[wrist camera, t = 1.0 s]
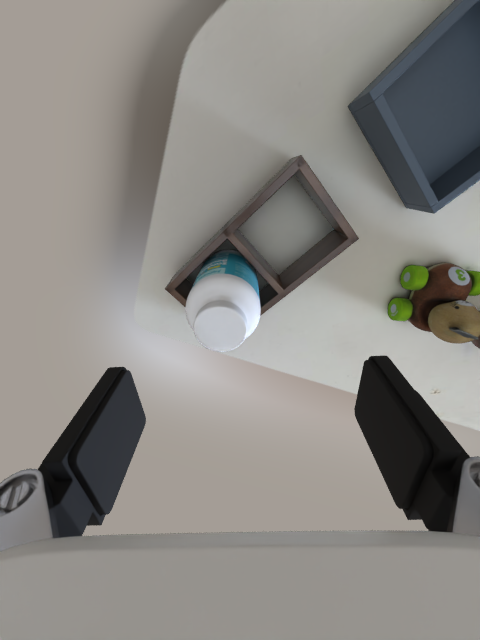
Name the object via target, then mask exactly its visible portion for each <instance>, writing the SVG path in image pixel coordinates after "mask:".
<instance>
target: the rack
mask: <svg viewBox="0 0 480 640" xmlns="http://www.w3.org/2000/svg"><path fill="white" fill-rule="evenodd" d="M293 175H295V176H296V178H297V179H298V181H299V182H300V183H301V185H302V186H303V187H304V189H305V190H306V192H307V193H308V194H309V196H310V197H311V199H312V200H313V201H314V203H315V204H316V205H317V207H318V208H319V210H320V211H321V212H322V214H323V215H324V217H325V218H326V219H327V221H328V222H329V223H330V225H331V226H332V228H333V229H334V230H333V231H332V232H331V233H329V234H328V235H327V236H326V237H325V238H323V239H322V240H321V241H320V242H318V243H317V244H316V245H315V246H314V247H312V248H311V249H310V250H309V251H308V252H306V253H305V254H304V255H303V256H301V257H300V258H299V259H298V260H297V261H295V262H294V263H293V264H292V265H291V266H289V267H288V268H287V269H286V270H284V271H283V272H282V273H281V274H280V275H278V274H277V273H276V271H275V270H274V269H273V268H272V267H271V266H270V265H269V264H268V262H267V261H266V260H265V259H264V258H263V257H262V256H261V255H260V253H259V252H258V251H257V250H256V249H255V248H254V247H253V245H252V244H251V243H250V242H249V241H248V240H247V239H246V238H245V236H244V235H243V234H242V233H241V232H240V231H239V230H238V228H239V227H240V226H241V225H242V224H243V223H244V222H245V221H246V220H247V219H248V218H249V217H250V216H251V215H252V214H253V213H254V212H255V211H256V210H258V209H259V208H260V207H261V206H262V205H263V204H264V203H265V202H266V201H267V200H268V199H269V198H270V197H271V196H272V195H273V194H274V193H275V192H276V191H277V190H278V189H279V188H280V187H281V186H282V185H283V184H284V183H286V182H287V181H288V180H289V179H290V178H291V177H292V176H293ZM226 239H228V240H229V241H230V242H231V243H232V244H233V245H234V246H235V247H236V248H237V249H238V250H239V252H240V253H241V254H242V255H243V256H244V257H245V258H246V259H247V260H248V261H249V262H250V264H251V265H252V266H253V267H254V268H255V269H256V270H257V271H258V272H259V273H260V274H261V276H262V277H263V278H264V279H265V280H266V281H267V282H268V283H269V284H267V285H266V286H265V287H264V288H263V289H261V290H260V291H259V297H260V307H261V314H260V316H261V315H262V314H263V313H264V312H266V311H267V310H268V309H269V308H271V307H272V306H273V305H275V304H276V303H277V302H278V301H280V300H281V299H282V298H284V297H285V296H286V295H288V294H289V293H290V292H291V291H293V290H294V289H295V288H296V287H298V286H299V285H300V284H301V283H303V282H304V281H305V280H307V279H308V278H309V277H310V276H312V275H313V274H314V273H316V272H317V271H318V270H319V269H321V268H322V267H323V266H325V265H326V264H327V263H328V262H330V261H331V260H332V259H333V258H335V257H336V256H337V255H339V254H340V253H341V252H342V251H344V250H345V249H346V248H348V247H349V246H350V245H351V244H353V243H354V242H355V241H357V240H358V239H359V238H358V237H357V235H356V234H355V232H354V231H353V229H352V228H351V226H350V225H349V223H348V222H347V221H346V219H345V218H344V216H343V215H342V213H341V212H340V210H339V209H338V208H337V206H336V205H335V203H334V202H333V200H332V199H331V197H330V196H329V194H328V193H327V192H326V190H325V189H324V187H323V186H322V184H321V183H320V181H319V180H318V179H317V177H316V176H315V174H314V173H313V171H312V170H311V168H310V167H309V166H308V164H307V163H306V161H305V160H304V158H303V157H302V155H300V156H297V157H294V158H292V159H291V160H290V161H289V162H288V163H287V164H286V165H285V166H284V167H283V168H282V169H281V170H280V171H279V172H278V173H277V174H276V175H275V176H274V177H273V178H272V179H271V180H270V181H269V182H268V183H267V184H266V185H265V186H264V187H263V188H262V189H261V190H260V191H259V192H258V193H256V194H255V195H254V196H253V197H252V198H251V199H250V200H249V201H248V202H247V203H246V204H245V205H244V206H243V207H242V208H241V209H240V210H239V211H238V212H237V213H236V214H235V215H234V216H233V217H232V218H231V219H230V220H229V221H228V222H227V223H226V224H225V225H224V226H223V227H222V228H221V229H220V230H219V231H218V232H217V233H216V234H215V235H214V236H213V237H212V238H211V239H210V240H209V241H208V242H207V243H206V244H205V245H204V246H203V247H202V248H201V249H200V250H199V251H198V252H197V253H196V254H195V255H194V256H193V257H192V258H191V259H190V260H189V261H188V262H187V263H186V264H185V265H184V266H183V267H182V268H181V269H180V270H179V271H178V272H177V273H176V274H175V275H174V276H173V278H172V279H171V281H170V282H169V284H168V285H167V287H166V288H165V290H167V291H168V292H169V293H170V294H171V295H172V296H173V297H174V298H176V299H177V300H178V301H179V302H180V303H181V304H182V305H184V306H185V307H186V301H187V298H188V295H189V293H190V291H191V289H192V287H193V284H192V283H191V282H190V281H189V280H188V279H187V277H188V276H189V275H190V274H191V273H192V272H193V271H194V270H195V269H196V268H197V267H198V266H199V265H200V264H201V263H202V262H204V261H205V260H206V259H207V258H208V257H209V256H210V255H211V254H212V253H213V252H214V251H215V250H216V249H217V248H218V247H219V246H220V245H221V244H222V243H223V242H224V241H225V240H226Z"/></svg>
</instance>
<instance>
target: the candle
mask: <svg viewBox="0 0 480 640" xmlns="http://www.w3.org/2000/svg"><path fill="white" fill-rule="evenodd" d="M472 343H473V344H474V345H475V346H477V347H478V348H480V336H479V337H478V339H477V340H475V339H474V340H472Z"/></svg>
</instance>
